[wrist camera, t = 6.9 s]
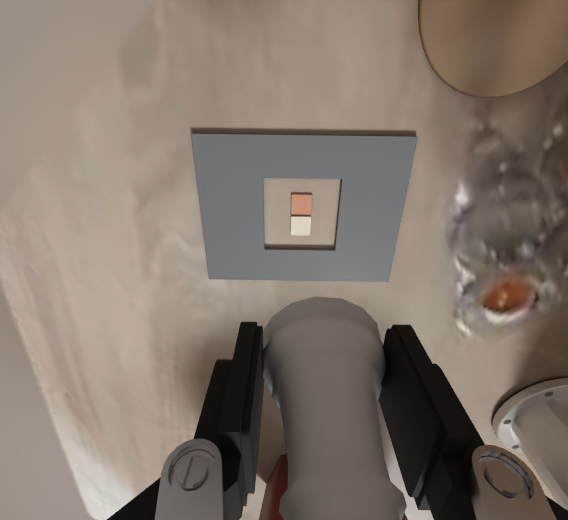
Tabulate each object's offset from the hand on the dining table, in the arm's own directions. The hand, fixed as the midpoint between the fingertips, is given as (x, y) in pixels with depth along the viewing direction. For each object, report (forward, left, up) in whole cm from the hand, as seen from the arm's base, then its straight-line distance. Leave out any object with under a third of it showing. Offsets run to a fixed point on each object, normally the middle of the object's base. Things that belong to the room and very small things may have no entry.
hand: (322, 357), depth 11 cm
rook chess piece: (0, 0, -1) cm, 1 cm away
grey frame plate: (0, 0, -15) cm, 15 cm away
